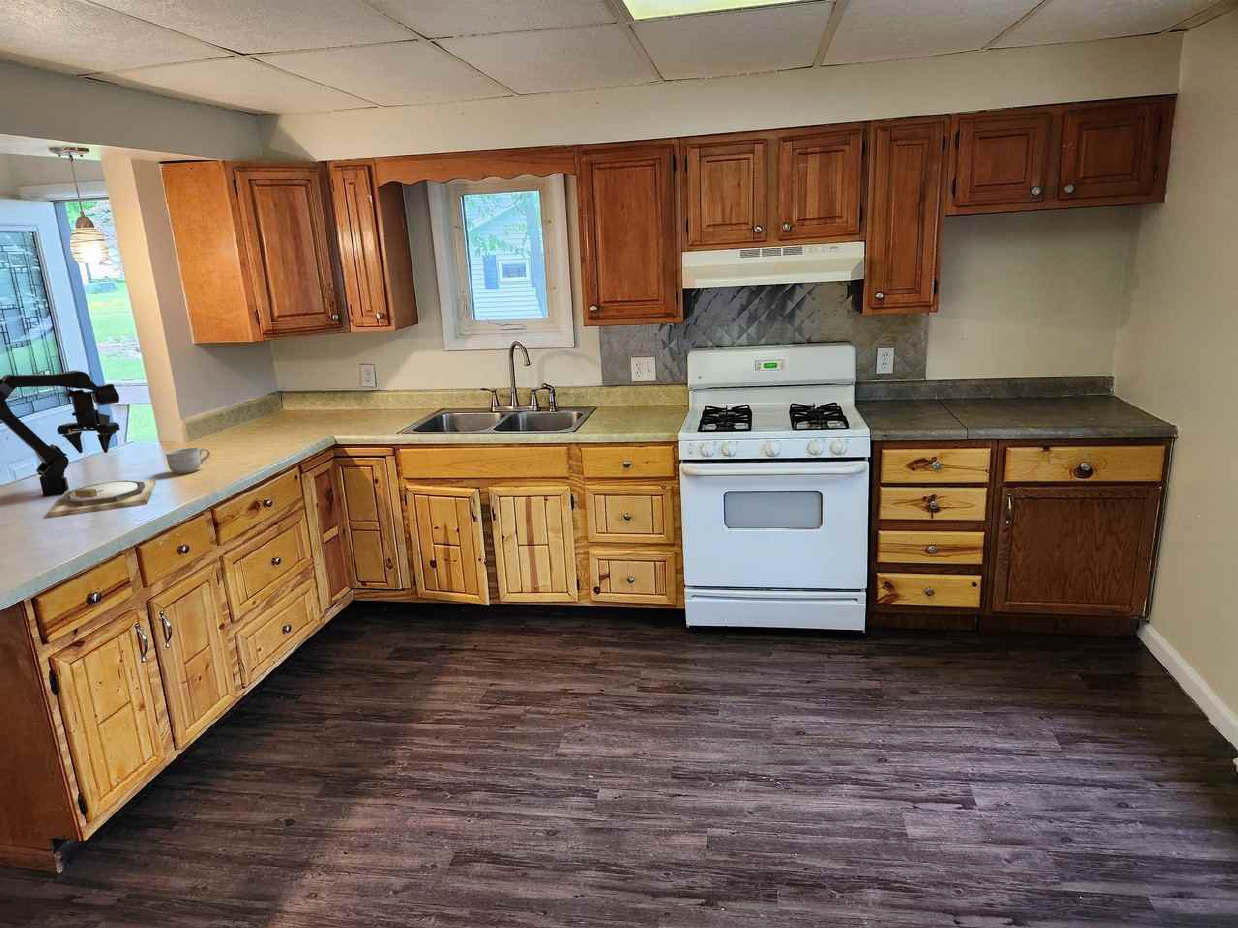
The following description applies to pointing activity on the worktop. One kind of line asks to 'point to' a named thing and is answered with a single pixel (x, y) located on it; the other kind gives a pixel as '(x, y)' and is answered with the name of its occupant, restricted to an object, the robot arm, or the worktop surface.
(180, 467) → the teacup
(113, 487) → the dial
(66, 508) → the dial base
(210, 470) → the worktop surface
